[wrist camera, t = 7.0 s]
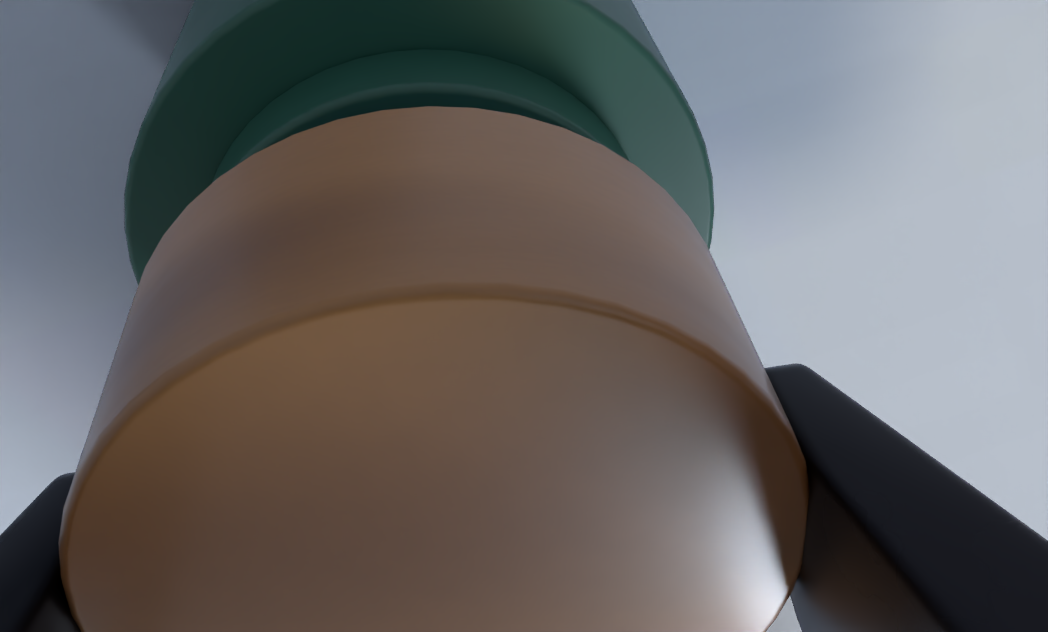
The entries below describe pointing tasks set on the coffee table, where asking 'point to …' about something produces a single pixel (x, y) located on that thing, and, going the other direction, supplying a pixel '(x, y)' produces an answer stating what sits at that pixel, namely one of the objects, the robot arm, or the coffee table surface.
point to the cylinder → (434, 402)
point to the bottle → (404, 88)
